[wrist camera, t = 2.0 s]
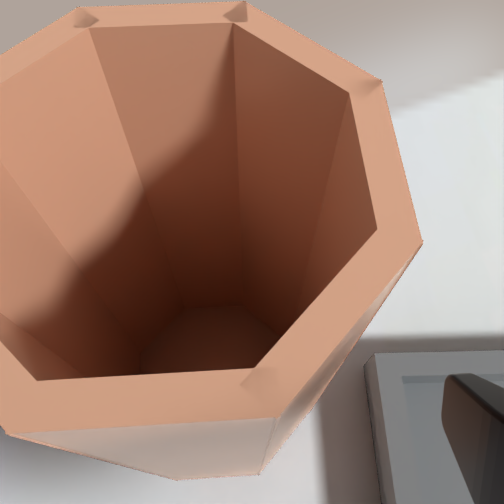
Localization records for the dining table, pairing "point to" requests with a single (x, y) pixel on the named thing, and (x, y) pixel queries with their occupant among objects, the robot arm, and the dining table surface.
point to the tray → (419, 422)
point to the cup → (187, 233)
